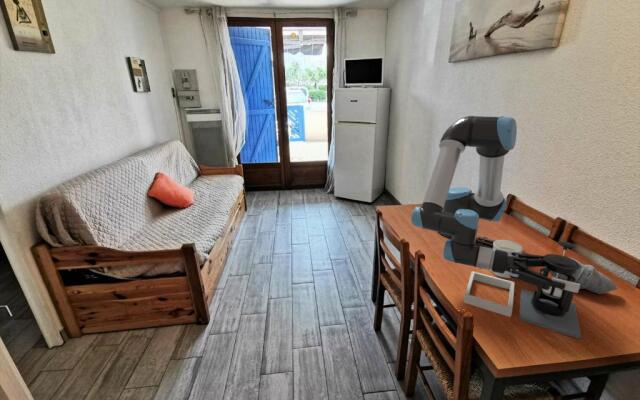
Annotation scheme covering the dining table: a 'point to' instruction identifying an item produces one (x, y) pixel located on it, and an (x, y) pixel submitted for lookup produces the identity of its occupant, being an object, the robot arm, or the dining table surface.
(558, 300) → the french press
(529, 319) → the slate mat
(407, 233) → the dining table surface
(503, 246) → the candle holder
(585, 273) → the seashell
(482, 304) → the holder frame
